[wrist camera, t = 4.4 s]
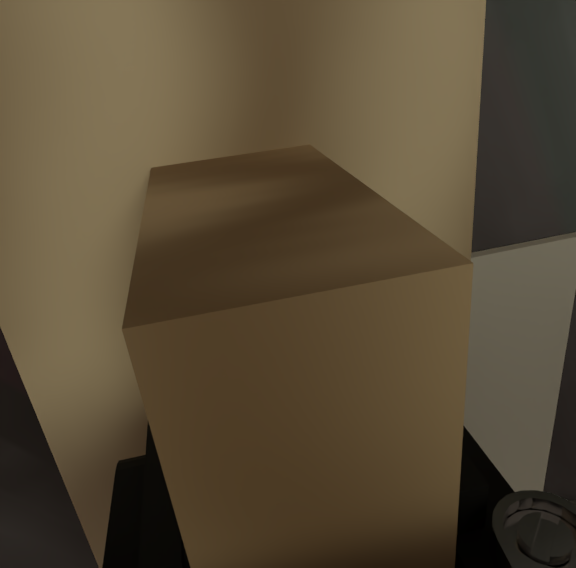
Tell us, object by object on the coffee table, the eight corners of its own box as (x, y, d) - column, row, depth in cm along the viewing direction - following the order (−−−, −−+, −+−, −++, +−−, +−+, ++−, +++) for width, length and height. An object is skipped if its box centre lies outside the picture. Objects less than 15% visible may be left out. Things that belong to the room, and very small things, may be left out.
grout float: (458, -111, 10) (1036, -426, 3) (435, 538, 17) (586, 823, 11) (-122, -64, 8) (-1170, -450, 2) (138, 617, 16) (115, 993, 10)
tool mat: (576, 231, 29) (584, 235, 29) (534, 502, 39) (540, 508, 38) (326, 281, 27) (329, 286, 26) (348, 556, 37) (350, 564, 36)
